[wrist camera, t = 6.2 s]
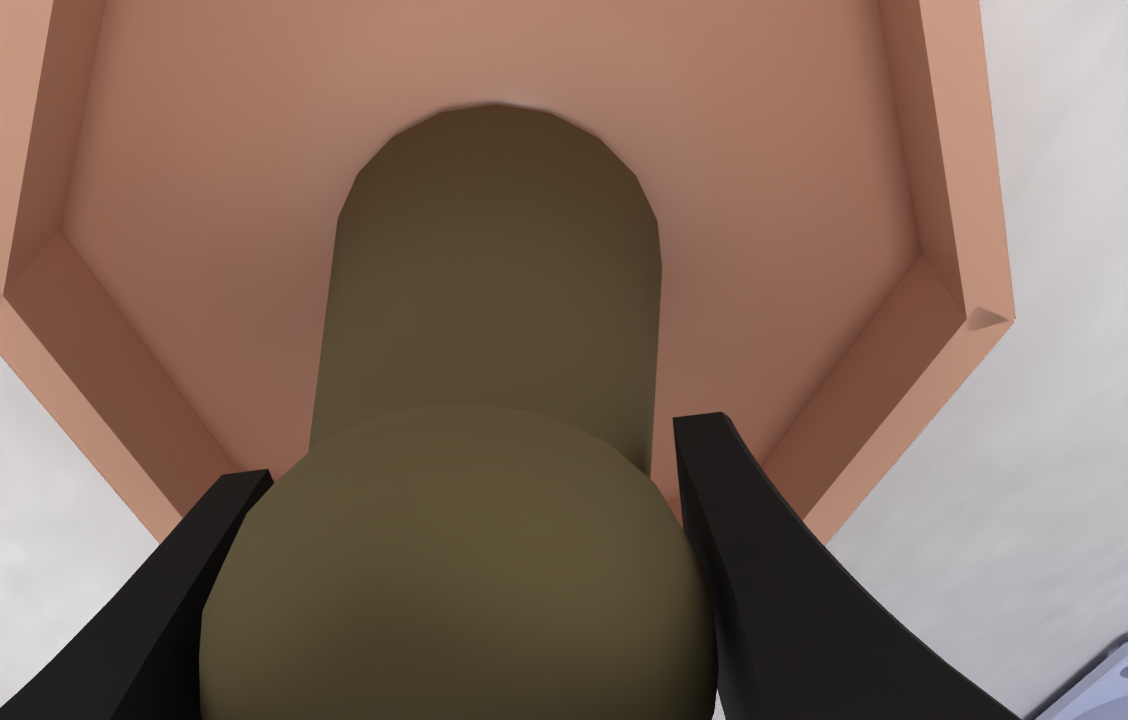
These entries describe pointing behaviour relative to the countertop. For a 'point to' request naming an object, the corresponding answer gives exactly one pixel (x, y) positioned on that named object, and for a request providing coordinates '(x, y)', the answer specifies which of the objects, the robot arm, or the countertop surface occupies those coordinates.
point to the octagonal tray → (522, 80)
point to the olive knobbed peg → (474, 458)
